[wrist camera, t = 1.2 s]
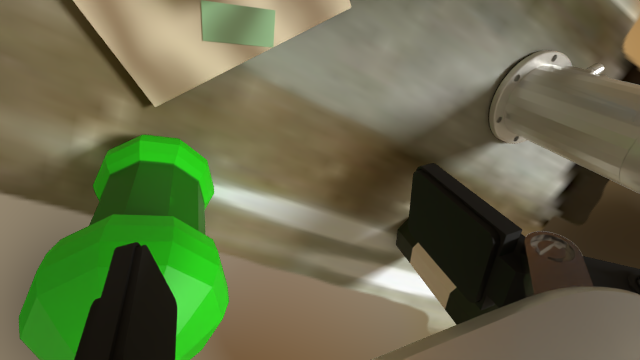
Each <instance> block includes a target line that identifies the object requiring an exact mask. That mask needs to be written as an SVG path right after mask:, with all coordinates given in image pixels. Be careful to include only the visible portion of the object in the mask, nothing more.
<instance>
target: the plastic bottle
mask: <svg viewBox="0 0 640 360" xmlns="http://www.w3.org/2000/svg"><path fill="white" fill-rule="evenodd" d="M93 188H94V191H95V193H96V195H97V197H98V199H99V201H100V202H99V204H98V206H97V209H96V211H95V213H94V216H93V218H92V220H91V223H90V225H89V226H88V227H86V228H84V229H81V230H79V231H77V232H75V233H73V234H71V235H69V236H67V237H65V238H63V239H61V240H60V241H59V242H58V243H57V244H56V245H55V246H54V247H53V248H52V249H51V250H50V251H49V252H48V253H47V254H46V256H45V257H44V259H43V261H42V263H41V265H40V266H39V268H38V270H37V272H36V274H35V277H34V280H33V282H32V285H31V287H30V290H29V292H28V295H27V297H26V300H25V303H24V305H23V308H22V310H21V313H20V315H19V333H20V339H21V340H22V341H23V342H24V343H25V345H27V347H28V348H29V349H30V350H31V351H32V352H33V353H34V354H35V355H36V356H37V357H38V358H39V359H40V360H74V359H75V355H76V352H77V349H78V346H79V343H80V339H81V336H82V333H83V330H84V326H85V323H86V320H87V317H88V313H89V310H90V307H91V305H92V303H93V301H94V300H95V299H98V298H101V295H102V291H103V288H104V284H105V281H106V277H107V274H108V270H109V267H110V263H111V260H112V256H113V253H114V250H115V248H116V247H119V246H123V245H127V244H131V243H134V242H138V243H139V244H140V245H141V246H142V245H146V246H147V247H148V248H149V250H150V252H151V254H152V256H153V258H154V260H155V261H156V263H157V265H158V267H159V269H160V271H161V273H162V275H163V276H164V278H165V280H166V282H167V284H168V286H169V288H170V290H171V291H172V293H173V295H174V297H175V299H176V303H177V330H176V353H175V360H190V359H191V358H193V357H194V356H195V355H196V354H197V353H199V352H200V351H201V350H202V349H203V347H204V346H205V344H206V343H207V341H208V340H209V338H210V337H211V336H212V334H213V333H214V331H215V330H216V328H217V326H218V325H219V324H220V322H221V321H222V319H223V317H224V314H225V311H226V308H227V305H228V302H229V296H228V287H227V283H226V279H225V275H224V272H223V268H222V265H221V261H220V257H219V254H218V251H217V248H216V246H215V244H214V241H213V239H211V238H209V237H208V236H206V235H205V212H204V210H205V208H206V206H207V205H208V203H209V201H210V199H211V198H212V196H213V194H214V186H213V182H212V178H211V174H210V170H209V166H208V162H207V160H206V159H205V158H203V157H202V156H201V155H200V154H198V153H197V152H196V151H194V150H193V149H192V148H190V147H189V146H188V145H187V144H185V143H184V142H183V141H181V140H180V139H178V138H169V137H161V136H153V135H141V136H138V137H136V138H134V139H132V140H130V141H128V142H125V143H123V144H121V145H119V146H117V147H115V148H112V149H110V150H108V152H107V154H106V156H105V158H104V160H103V163H102V165H101V167H100V170H99V172H98V175H97V177H96V179H95V182H94V184H93Z"/></svg>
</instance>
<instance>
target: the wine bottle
mask: <svg viewBox="0 0 640 360" xmlns="http://www.w3.org/2000/svg"><path fill="white" fill-rule="evenodd" d="M408 221H409V219H408V220H407V221H406V222H405V223H404V224H403V225H402V226H401V227H400V228H399V229H398V233H397V240H396V245H397V247H398V248H399V249H400V251H401V252H402V253H403V255H404V256H405V257H406V258H407V260H408V261H409V262H410V264H411V265H412V266H413V268H414V269H415V270H416V272H417V273H418V274H419V276H420V277H421V278H422V280H423V281H424V282H425V284H426V285H427V286H428V288H429V289H430V290H431V291H432V293H433V294H434V295H435V297H436V298H437V299H438V301H439V302H440V303H441V305H442V306H443V307H444V309H445V310H446V311H447V313H448V314H449V315H450V317H451V318H452V319H453V321H454V322H455V323H456V324H457V325H458V324H460V323H463V322H465V321H468V320H470V319H473V318H475V317H478V316H480V315H483V314H485V313H488V312H490V311H493V310H496V309H498V308H499V307H498V306H497V305H496V304H494V305H493V306H491V307H488V308H486V309H484V310H480V309H479V308H478V307H477V305H476V304H475V303H471V302H469V301H468V300H467V299H466V298H465V297H464V295H463V294H462V293H461V292H460V291H459V290H458V288H457V287H456V286H455V285H454V284H453V283H452V281H451V280H450V279H449V278H448V277H447V276H446V274H445V273H444V272H443V271H442V270H441V269H440V267H439V266H438V265H437V264H436V263H435V262H434V260H433V259H432V258H431V257H430V256H429V255H428V254H427V252H426V251H425V250H424V249H423V248H422V247H421V245H420V244H419V243H418V242H417V241H416V240H415V238H414V237H413V236H412V235H411V233H410V232H409V229H408Z"/></svg>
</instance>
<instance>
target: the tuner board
mask: <svg viewBox="0 0 640 360" xmlns="http://www.w3.org/2000/svg"><path fill="white" fill-rule="evenodd" d="M73 1H74V3H75V4H76V5H77V7H78V8H79V9H80V10H81V12H82V13H83V14H84V16H85V17H86V18H87V20H88V21H89V22H90V23H91V25H92V26H93V27H94V29H95V30H96V31H97V32H98V34H99V35H100V36H101V38H102V39H103V40H104V42H105V43H106V44H107V45H108V47H109V48H110V49H111V51H112V52H113V53H114V54H115V56H116V57H117V58H118V60H119V61H120V62H121V64H122V65H123V66H124V67H125V69H126V70H127V71H128V73H129V74H130V75H131V77H132V78H133V79H134V80H135V82H136V83H137V84H138V86H139V87H140V88H141V89H142V91H143V92H144V93H145V95H146V96H147V97H148V99H149V100H150V101H151V102H152V104H153V105H154V106H155V107H157V106H159V105H161V104H163V103H164V102H166V101H168V100H170V99H172V98H174V97H176V96H178V95H180V94H182V93H184V92H186V91H188V90H190V89H192V88H194V87H196V86H198V85H200V84H202V83H204V82H206V81H208V80H210V79H212V78H214V77H216V76H218V75H220V74H222V73H224V72H225V71H227V70H229V69H231V68H233V67H235V66H237V65H239V64H241V63H243V62H245V61H247V60H249V59H251V58H253V57H255V56H257V55H259V54H261V53H263V52H265V51H267V50H269V49H271V48H273V47H275V46H277V45H279V44H281V43H283V42H285V41H286V40H288V39H290V38H292V37H294V36H296V35H298V34H300V33H302V32H304V31H306V30H308V29H310V28H312V27H314V26H316V25H318V24H320V23H322V22H324V21H326V20H328V19H330V18H332V17H334V16H336V15H338V14H340V13H342V12H344V11H346V10H347V9H349V8H351V4H350V0H73Z"/></svg>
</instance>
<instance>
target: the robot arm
mask: <svg viewBox="0 0 640 360" xmlns="http://www.w3.org/2000/svg"><path fill="white" fill-rule="evenodd" d="M603 70H604V66H603V65H602V64H600V63H596V64H594V65H592V66H590V67H589V68H587V69H581V68H577V67H572V64H571V62H570V60H569V58H568V57H567V56H566V55H565V54H563V53H561V52H558V51H552V50H544V51H539V52H536V53H534V54H532V55H530V56H528V57H526V58H525V59H523V60H522V61H521V62H519V63H518V64H517V65H516V66H515V67H514V68H513V69H512V70H511V71H510V72H509V73H508V74H507V76H506V77H505V78H504V79H503V81H502V82H501V84H500V86H499V87H498V89H497V91H496V93H495V95H494V98H493V101H492V104H491V107H490V113H489V123H490V128H491V130H492V132H493V134H494V135H495V136H496V137H497V138H498V139H500V140H502V141H504V142H507V143H512V144H515V143H521V142H524V141H526V140H529V141H531V142H533V143H535V144H537V145H539V146H541V147H543V148H545V149H548V150H550V151H552V152H554V153H556V154H558V155H560V156H562V157H564V158H566V159H568V160H570V161H573V162H575V163H577V164H579V165H581V166H583V167H585V168H587V169H589V170H591V171H593V172H595V173H597V174H600V175H602V176H604V177H606V178H608V179H610V180H612V181H614V182H616V183H618V184H621V185H623V186H625V187H627V188H629V189H631V190H633V191H635V192H637V193H640V85H637V84H632V83H628V82H624V81H620V80H616V79H611V78H608V76H606V75H598V74H599V73H601V72H603ZM408 229H409V232H410V233H411V235H412V236H413V237H414V238H415V240H416V241H417V242H418V243H419V244H420V245H421V247H422V248H423V249H424V250H425V251H426V252H427V254H428V255H429V256H430V257H431V258H432V259H433V260H434V262H435V263H436V264H437V265H438V266H439V267H440V269H441V270H442V271H443V272H444V273H445V274H446V276H447V277H448V278H449V279H450V280H451V281H452V283H453V284H454V285H455V286H456V287H457V288H458V290H459V291H460V292H461V293H462V294H463V295H464V297H465V298H466V299H467V300H468V301H469V302H471V303H475V304H476V305H477V307H478V308H479V309H480V310H484V309H486V308H488V307H491V306H493V305H494V304H496V305H497V306H498V307H499V308H498V309H496V310H493V311H490V312H488V313H485V314H483V315H480V316H478V317H475V318H473V319H470V320H468V321H465V322H463V323H460V324H458V325H455V326H453V327H450V328H448V329H445V330H443V331H441V332H438V333H436V334H433V335H431V336H428V337H426V338H423V339H421V340H418V341H416V342H414V343H411V344H409V345H406V346H404V347H401V348H399V349H396V350H394V351H392V352H389V353H387V354H384V355H382V356H379V357H377V358H374V359H372V360H640V269H637V268H632V267H628V266H624V265H619V264H615V263H611V262H606V261H602V260H597V259H593V258H589V257H585V256H582V253H581V252H580V250H579V248H578V247H577V246H576V245H575V244H574V243H573V242H571V241H570V240H568V239H566V238H565V237H563V236H560V235H558V234H555V233H551V232H545V231H537V232H532V233H530V234H528V235H527V236H526V237H525V236H523V235H522V234H521V232H522V229H521V228H519V227H518V226H517V225H515V224H514V223H513V222H512V221H510V220H509V219H508V218H506V217H505V216H504V215H502V214H501V213H500V212H498V211H497V210H496V209H494V208H493V207H492V206H490V205H489V204H488V203H486V202H485V201H484V200H482V199H481V198H480V197H478V196H477V195H476V194H474V193H473V192H472V191H471V190H469V189H468V188H467V187H465V186H464V185H463V184H461V183H460V182H459V181H457V180H456V179H455V178H453V177H452V176H451V175H449V174H448V173H447V172H445V171H444V170H443V169H441V168H440V167H439V166H437V165H436V164H434V163H431V164H427V165H424V166H420V167H418V168H417V170H416V172H414V174H413V182H412V192H411V202H410V211H409V221H408ZM176 330H177V303H176V299H175V297H174V295H173V293H172V291H171V290H170V288H169V286H168V284H167V282H166V280H165V278H164V276H163V275H162V273H161V271H160V269H159V267H158V265H157V263H156V261H155V260H154V258H153V256H152V254H151V252H150V250H149V248H148V247H147V246H146V245H142V246H141V245H140V244H139V243H138V242H134V243H131V244H127V245H123V246H119V247H116V248H115V250H114V253H113V256H112V260H111V263H110V267H109V270H108V274H107V277H106V281H105V284H104V288H103V291H102V295H101V298H98V299H95V300H94V301H93V303H92V305H91V307H90V310H89V313H88V317H87V320H86V323H85V326H84V330H83V333H82V336H81V339H80V343H79V346H78V349H77V352H76V355H75V359H74V360H175V353H176Z"/></svg>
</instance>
